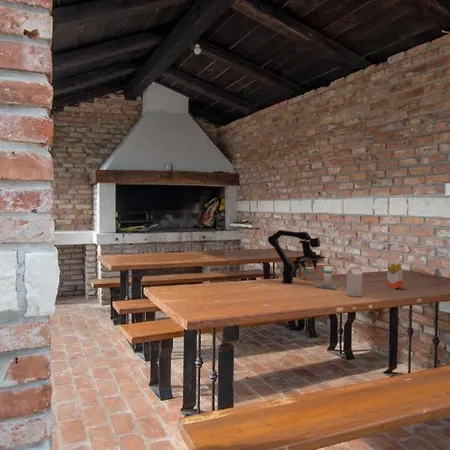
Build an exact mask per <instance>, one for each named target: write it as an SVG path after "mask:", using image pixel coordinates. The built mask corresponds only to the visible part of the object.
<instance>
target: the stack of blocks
mask: <svg viewBox="0 0 450 450" xmlns="http://www.w3.org/2000/svg"><path fill="white" fill-rule="evenodd" d="M311 263H312V262H311ZM311 266H312V267H311ZM311 266H305V267H306V269H305V270H304V268H303V267H302V266H301V267H300V268H301V269H300V270H301V272H300V278H301V279H302V280H303V281H306V280H307V281H308V280H309V281H312V280H313V281H315V280H314V279H324V266H330V264H329V263H318V262H317V264H316V269H314V266H313V263H312V264H311Z"/></svg>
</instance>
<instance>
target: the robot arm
mask: <svg viewBox="0 0 450 450" xmlns="http://www.w3.org/2000/svg"><path fill="white" fill-rule="evenodd" d="M282 236H283V237H292V238H297V239H298V240H300V241H299V242H298V244H301V248H302V250H301V253H303V255H299V256H297V257H295V261H297V262H298V263H299V264H300V265H301V267H303V268H304V270H305V269H306V267H307V266H306V260H311V263H313V266H314V269H316V264H317V263H318V261H319V260H320V259H322V258H321V254H317V252H316V251H313V248H319V247H321V241H320V239H319V237H315V238H314V237H313V238H312V237H311V236H310V235H309V232H308V231H290V230H284V229H279V230H277V232H275V233H274V234H272V235H270V236H268V237H267V241H268V243H269V244H270V245H271V246H272V247H273V248H274V250H275V252H276V254H277V255H278V257H279V259H280V260H281V261H282V263H283V267H284V270H283V271H282V283H283V284H292V283H293V281H294V276H293V273H294V272H295V270H296V265H295V264H294V262H293V261H290V260H289V259H288V257H287V255H286V254H285V252H284V250H283V248H282V247H281V245H280V241H279V239H280V238H281V237H282ZM311 248H312V249H311Z"/></svg>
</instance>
